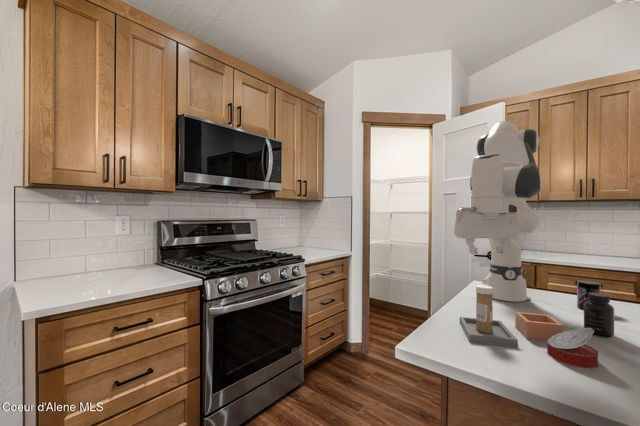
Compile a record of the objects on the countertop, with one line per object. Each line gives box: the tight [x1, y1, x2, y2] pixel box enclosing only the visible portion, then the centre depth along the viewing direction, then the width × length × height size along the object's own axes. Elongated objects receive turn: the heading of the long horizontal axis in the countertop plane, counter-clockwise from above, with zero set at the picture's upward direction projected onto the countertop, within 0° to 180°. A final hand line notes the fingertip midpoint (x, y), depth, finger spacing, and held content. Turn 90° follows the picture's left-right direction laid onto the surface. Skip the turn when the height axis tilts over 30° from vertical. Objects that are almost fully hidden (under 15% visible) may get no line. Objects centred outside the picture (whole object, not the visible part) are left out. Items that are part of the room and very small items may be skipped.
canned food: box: [546, 327, 599, 369], centre depth 74 cm, size 11×10×10 cm
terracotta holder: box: [514, 311, 564, 342], centre depth 89 cm, size 9×9×5 cm
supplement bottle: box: [583, 292, 615, 339], centre depth 90 cm, size 7×7×12 cm
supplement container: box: [576, 279, 602, 311], centre depth 114 cm, size 7×7×10 cm
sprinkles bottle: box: [475, 284, 494, 333], centre depth 90 cm, size 5×5×14 cm
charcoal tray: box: [459, 316, 519, 348], centre depth 89 cm, size 15×12×2 cm
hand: (487, 253), depth 89 cm, fingers open, 8 cm apart
